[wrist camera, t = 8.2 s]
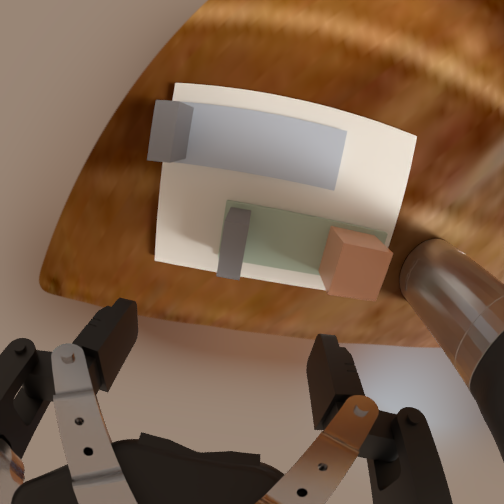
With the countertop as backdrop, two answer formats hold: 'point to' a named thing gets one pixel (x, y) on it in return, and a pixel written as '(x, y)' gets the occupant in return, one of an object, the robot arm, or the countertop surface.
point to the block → (354, 264)
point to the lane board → (280, 184)
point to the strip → (246, 142)
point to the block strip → (275, 239)
